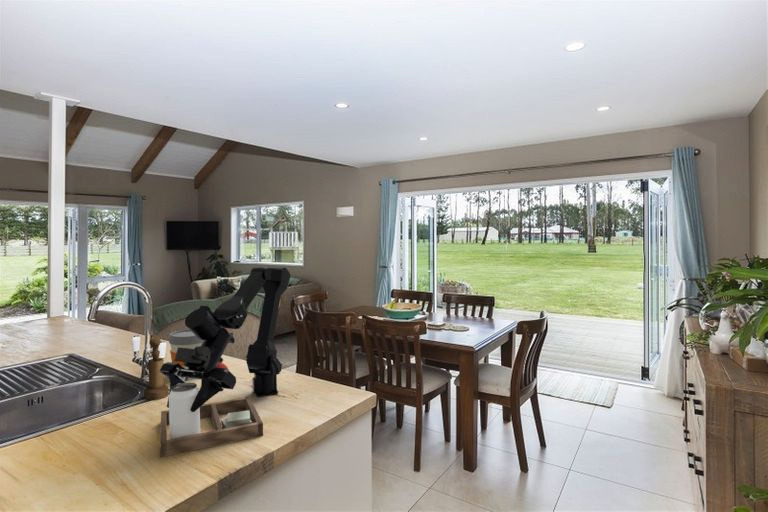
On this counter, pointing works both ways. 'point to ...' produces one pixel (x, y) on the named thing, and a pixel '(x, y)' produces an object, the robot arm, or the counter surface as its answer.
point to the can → (183, 410)
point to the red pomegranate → (221, 366)
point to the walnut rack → (219, 434)
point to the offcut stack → (236, 419)
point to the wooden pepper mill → (155, 374)
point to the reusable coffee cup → (183, 343)
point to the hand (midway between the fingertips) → (180, 409)
